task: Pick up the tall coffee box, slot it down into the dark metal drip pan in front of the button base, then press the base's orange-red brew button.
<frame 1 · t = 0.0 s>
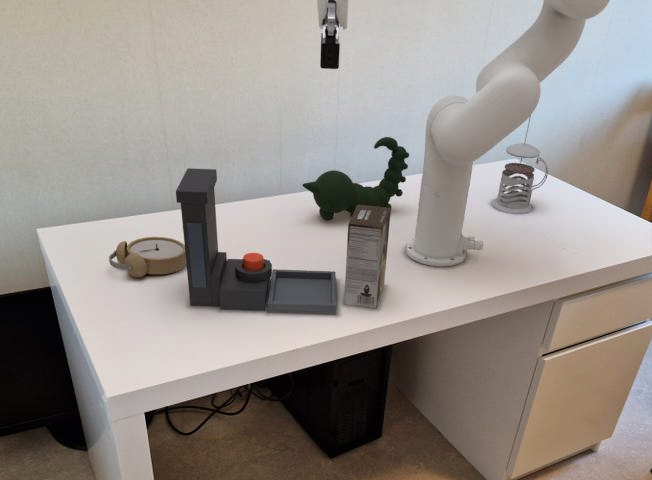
hand: (329, 62, 119), 37 cm above the table, tool pointing down, fingers open, 9 cm apart
button base: (246, 294, 123), on the table
brew button: (253, 262, 119), point 7 cm above the table, slide at 0.1 cm
coffee box: (364, 296, 125), on the table
alarm clock: (149, 267, 131), on the table
coffee machine tank: (205, 292, 123), on the table
drip pan: (302, 296, 123), on the table
french press: (515, 207, 165), on the table
toy figurine: (352, 216, 156), on the table
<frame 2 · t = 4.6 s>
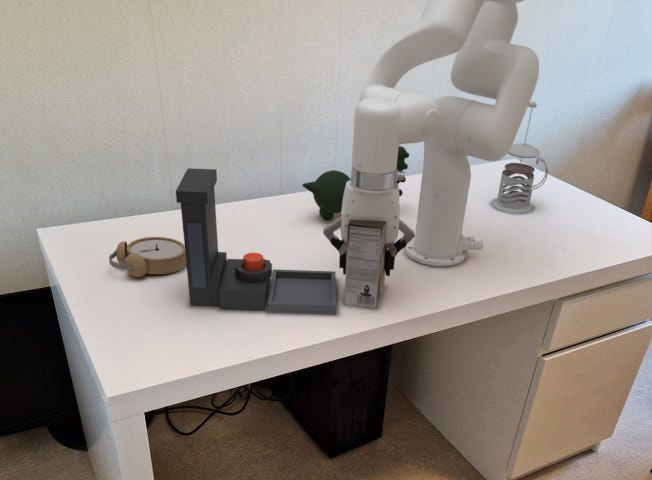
hand: (366, 271, 122), 5 cm above the table, tool pointing down, fingers closed on coffee box, 7 cm apart
coffee box: (364, 296, 125), on the table, touching gripper
everything else where it was.
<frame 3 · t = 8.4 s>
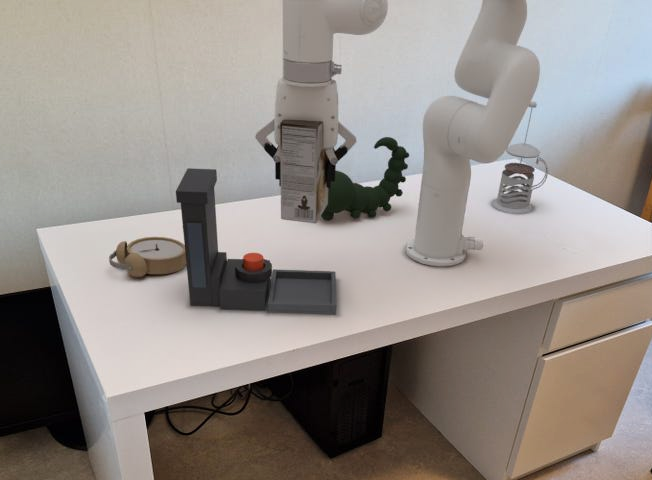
hand: (305, 183, 111), 22 cm above the table, tool pointing down, fingers closed on coffee box, 7 cm apart
coffee box: (304, 213, 114), point 16 cm above the table, touching gripper
everything else where it was.
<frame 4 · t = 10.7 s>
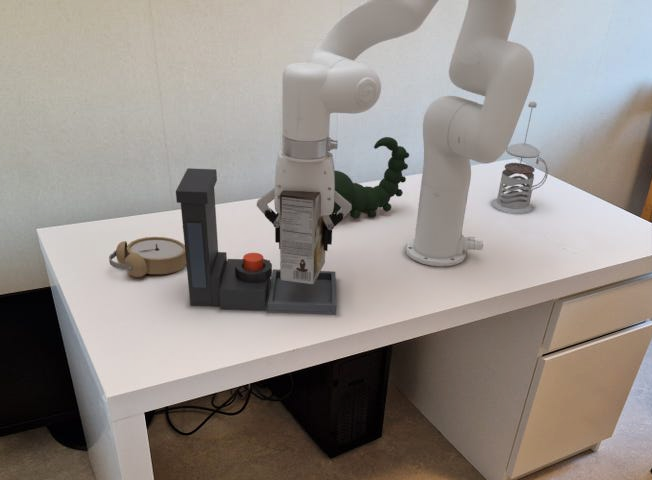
hand: (303, 246, 117), 10 cm above the table, tool pointing down, fingers closed on coffee box, 7 cm apart
coffee box: (303, 272, 120), point 5 cm above the table, touching gripper
everything else where it was.
when the fingers open (6 cm above the table, at t = 12.4 s): coffee box stays where it is, resting on drip pan.
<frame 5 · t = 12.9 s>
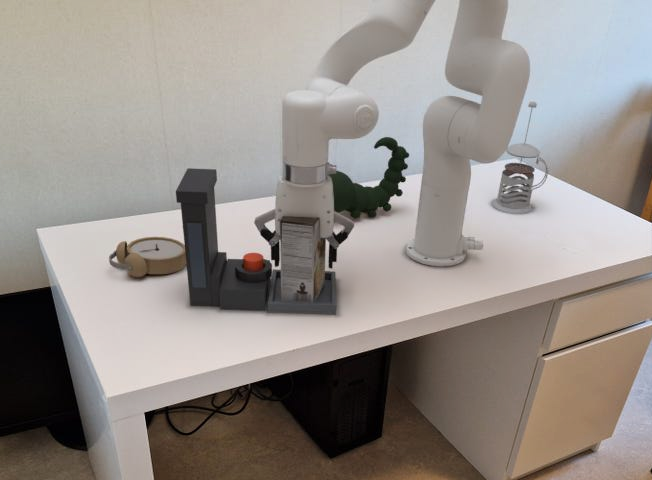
hand: (303, 264, 120), 7 cm above the table, tool pointing down, fingers open, 9 cm apart
coffee box: (303, 294, 123), resting on drip pan
everything else where it was.
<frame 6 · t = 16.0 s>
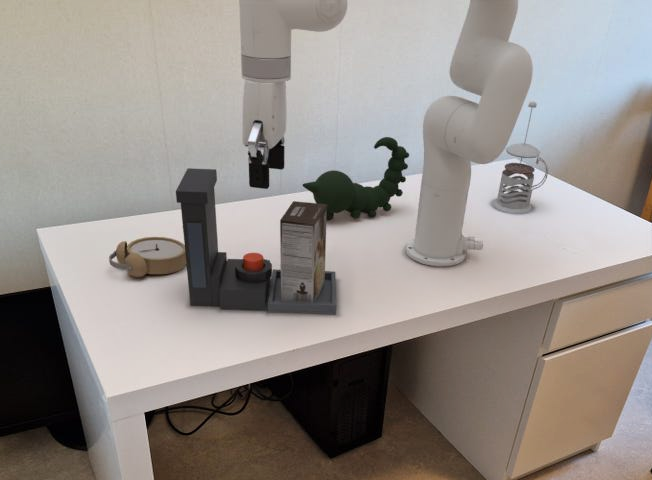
hand: (267, 177, 110), 22 cm above the table, tool pointing down, fingers open, 9 cm apart
nothing on the table moved.
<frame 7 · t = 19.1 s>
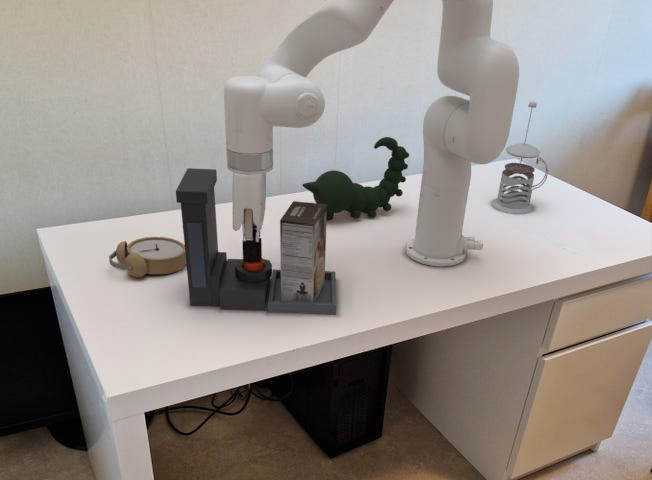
hand: (252, 259, 119), 7 cm above the table, tool pointing down, fingers closed
brew button: (253, 265, 120), point 6 cm above the table, slide at -0.5 cm, touching gripper
everything else where it was.
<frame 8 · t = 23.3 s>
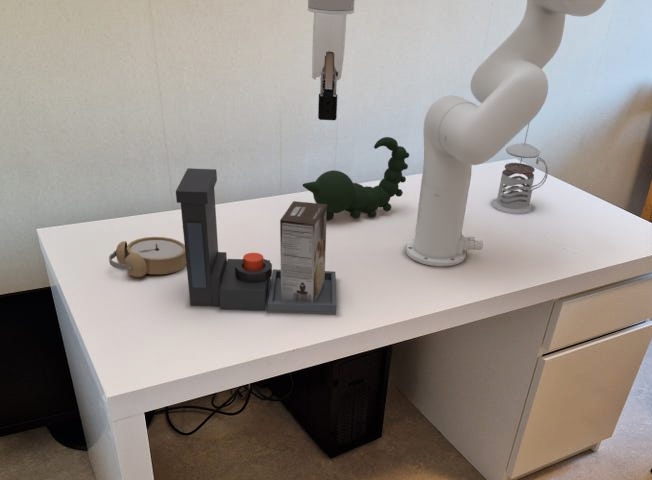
hand: (327, 118, 117), 29 cm above the table, tool pointing down, fingers closed
brew button: (253, 262, 119), point 7 cm above the table, slide at 0.1 cm
everything else where it was.
at the end: coffee box 0.0 cm off-centre in the drip pan, point 0.4 cm above the drip pan's base; brew button pushed in 1.1 cm at the most during the clip, back to where it started at the end; brew button slide at 0.1 cm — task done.
